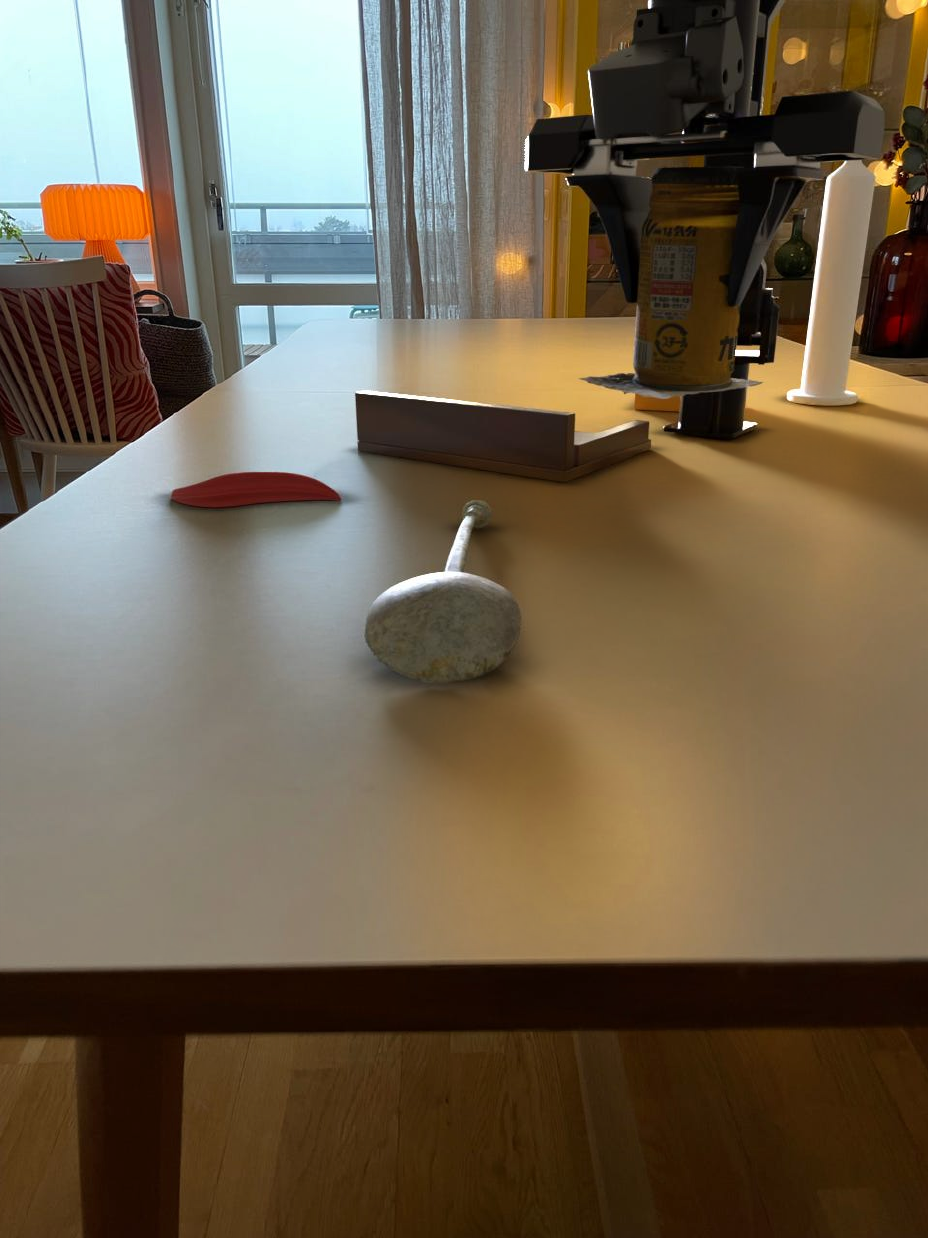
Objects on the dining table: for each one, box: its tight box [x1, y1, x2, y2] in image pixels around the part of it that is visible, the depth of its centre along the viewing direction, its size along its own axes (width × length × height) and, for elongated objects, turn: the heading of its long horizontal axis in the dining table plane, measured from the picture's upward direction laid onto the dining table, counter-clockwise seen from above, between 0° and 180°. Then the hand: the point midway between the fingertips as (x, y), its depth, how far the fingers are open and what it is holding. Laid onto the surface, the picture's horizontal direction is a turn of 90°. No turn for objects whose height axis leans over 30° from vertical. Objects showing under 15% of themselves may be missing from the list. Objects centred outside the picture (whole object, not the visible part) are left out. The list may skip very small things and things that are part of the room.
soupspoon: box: [364, 499, 522, 684], centre depth 46 cm, size 22×3×7 cm
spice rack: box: [354, 390, 652, 483], centre depth 77 cm, size 14×20×5 cm
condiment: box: [578, 166, 764, 399], centre depth 55 cm, size 7×8×12 cm
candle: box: [786, 160, 876, 407], centre depth 95 cm, size 7×7×25 cm
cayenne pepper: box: [170, 471, 342, 508], centre depth 63 cm, size 12×5×2 cm, turn 78°
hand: (681, 304), depth 55 cm, fingers closed on condiment, 6 cm apart
